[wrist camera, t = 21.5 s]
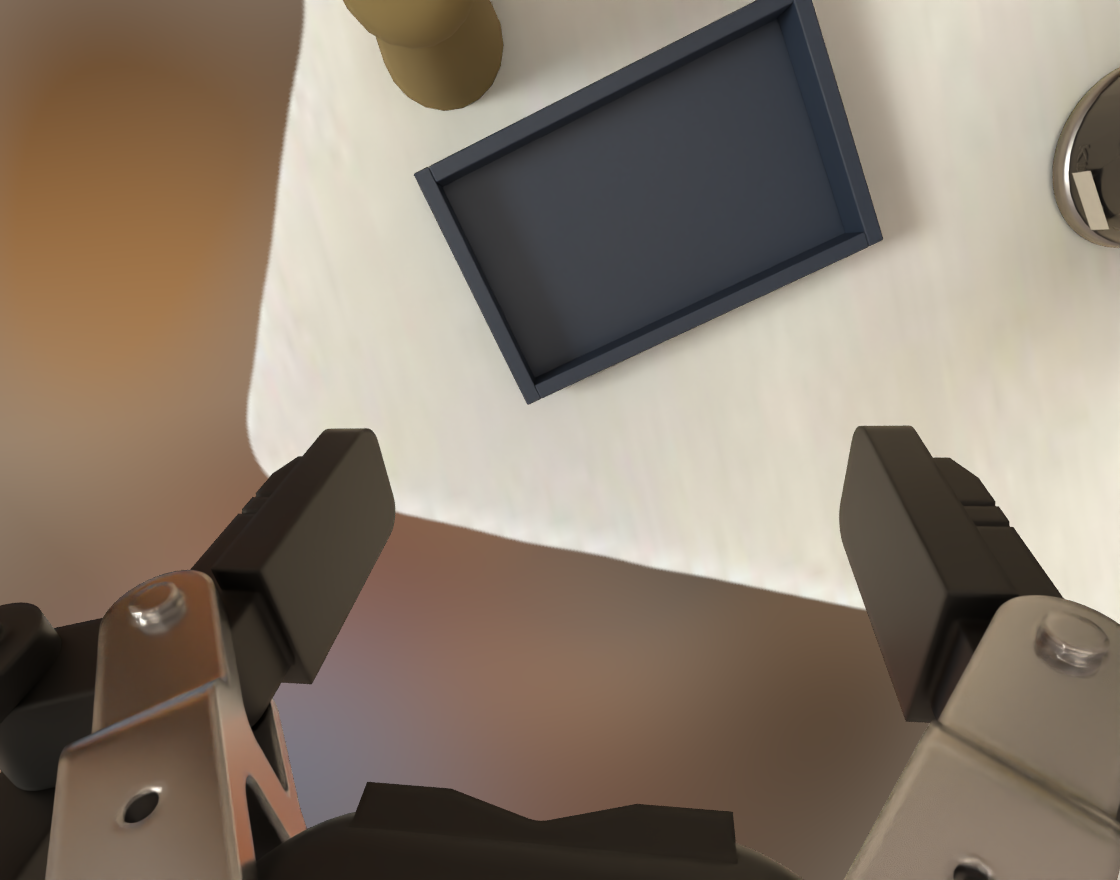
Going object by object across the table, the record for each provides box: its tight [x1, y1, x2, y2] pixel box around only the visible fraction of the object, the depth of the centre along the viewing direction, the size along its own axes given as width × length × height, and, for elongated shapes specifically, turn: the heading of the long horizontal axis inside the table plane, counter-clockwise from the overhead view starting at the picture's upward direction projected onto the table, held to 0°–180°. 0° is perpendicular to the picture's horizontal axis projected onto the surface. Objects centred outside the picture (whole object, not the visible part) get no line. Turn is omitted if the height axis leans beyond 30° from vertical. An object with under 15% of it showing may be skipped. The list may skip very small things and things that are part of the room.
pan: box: [414, 0, 883, 404], centre depth 33 cm, size 20×13×3 cm, turn 115°
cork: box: [343, 0, 503, 111], centre depth 26 cm, size 6×6×11 cm
